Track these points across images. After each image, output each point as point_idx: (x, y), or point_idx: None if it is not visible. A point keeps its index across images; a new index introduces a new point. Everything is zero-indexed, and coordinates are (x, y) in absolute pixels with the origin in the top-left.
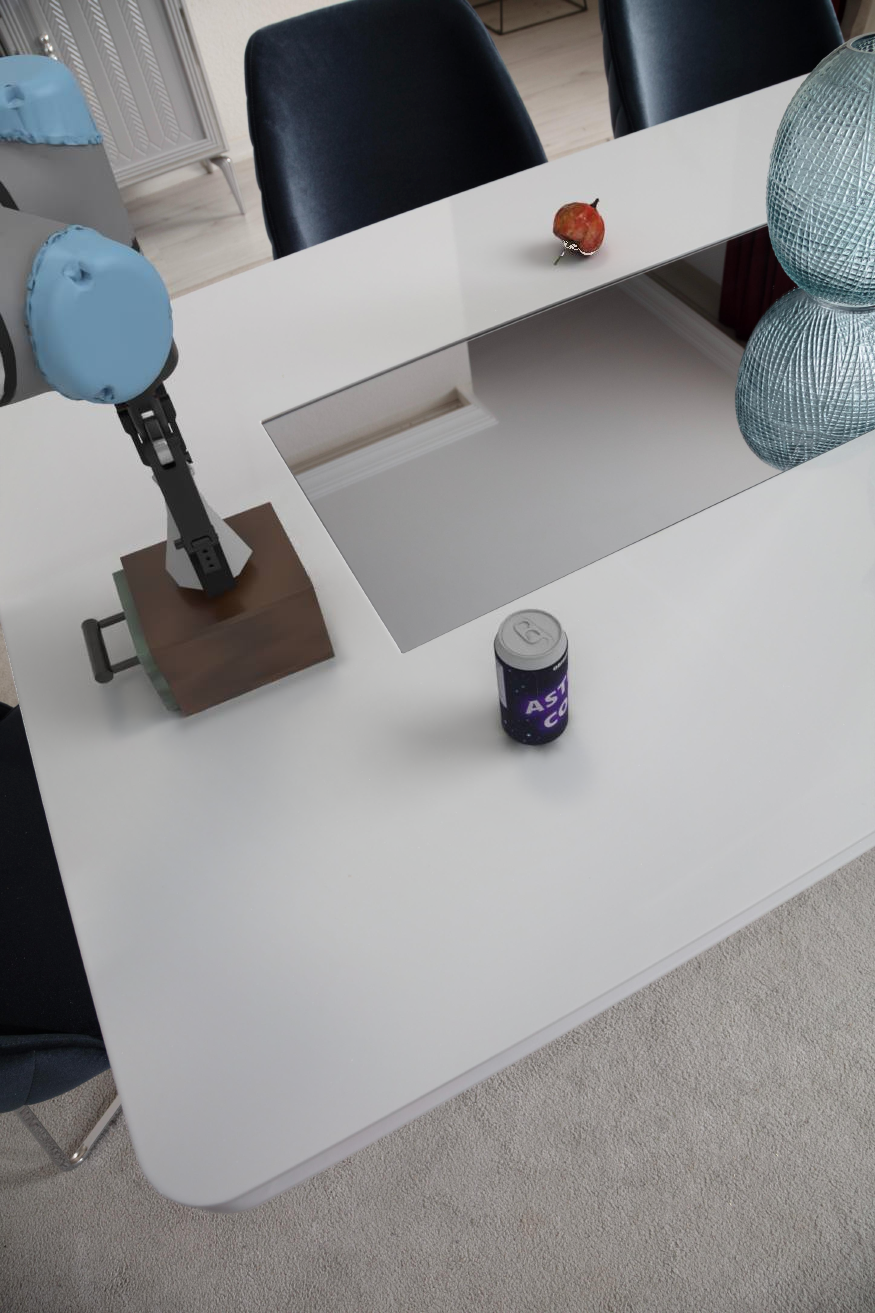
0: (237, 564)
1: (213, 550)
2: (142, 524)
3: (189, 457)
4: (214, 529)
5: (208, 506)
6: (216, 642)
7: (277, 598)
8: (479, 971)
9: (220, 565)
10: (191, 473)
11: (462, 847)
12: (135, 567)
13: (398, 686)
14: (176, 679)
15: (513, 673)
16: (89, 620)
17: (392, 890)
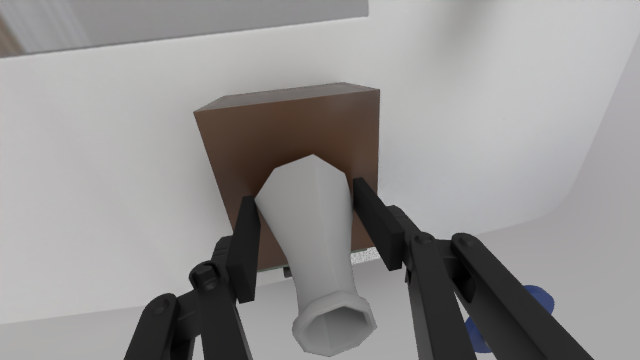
0: (339, 175)
1: (415, 226)
2: (113, 223)
3: (207, 272)
4: (428, 237)
5: (326, 232)
6: None
7: (376, 134)
8: (596, 60)
9: (400, 209)
10: (355, 302)
11: (539, 39)
12: (268, 260)
13: (399, 34)
14: None
15: None
16: (286, 274)
17: (528, 96)
